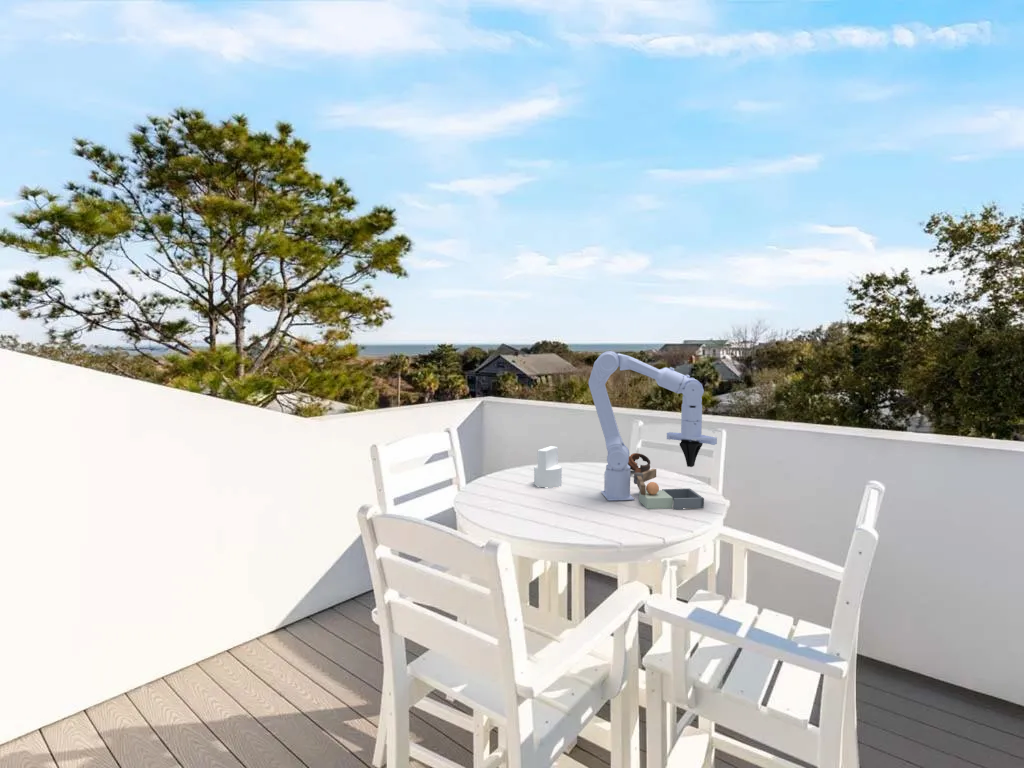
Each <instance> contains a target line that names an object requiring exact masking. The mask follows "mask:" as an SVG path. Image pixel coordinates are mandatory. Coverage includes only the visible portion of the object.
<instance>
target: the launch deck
mask: <svg viewBox="0 0 1024 768" xmlns="http://www.w3.org/2000/svg"><path fill="white" fill-rule="evenodd" d="M638 495H639V496H638V501H639V502H640V503H641V504H642V505H643V506H644V507H645V509H647V510H655V509H657V510H658V508H662V509H673V498H672V497H671V496H670V495H669V494H667V493H666V492H665V491H664V490H662V489H661V490H660V489H659V491H658V493H656V494H654V495H652V494H649V493H648V492H647V490H646V495H641V493H640V490H638Z"/></svg>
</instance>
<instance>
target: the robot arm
mask: <svg viewBox="0 0 1024 768" xmlns="http://www.w3.org/2000/svg"><path fill="white" fill-rule="evenodd" d="M618 368H619V371H626V370H628V371H629V370H631V371H633V372H636V373H638V374H641V375H644V376H645V377H648V378H651V379H653V380H655V381H656V382H655V383H656V384H657V385H658V386H659V387H661V388H664V389H666V390H668V391H671V392H673V393H675V394H682V404H681V414H680V415H681V419H680V420H681V423H680V426H681V427H680V428H681V429H680V432H671V431H669V432H666V440H669V441H670V440H674V441H680V442H679V446H680V449H681V451H682V453H683V455H684V458H685V463H686V467H688V468H692V467H695V465H696V461H697V457H698V454H699V451H700V450H701V448H702V446H703V444H705V445H707V444H708V445H712V446H715V445H717V444H718V437H716V436H710V435H705V434H702V433H703V432H702V431H703V430H702V427H703V426H702V423H703V404H702V401H703V399H702V397H703V396H704V392H705V390H704V387H703V385H702V383H701V382H700V381H699V380H698V379H695V377H691V375H689V374H683V373H680V372H678V371H675V368H674V367H672V366H670V367H667V366H666V367H662V368H660V369H659V368H657V367H655V366H653V365H650V364H648V363H646V362H643V361H641V360H640V359H637V358H635V357H633V356H630V355H628V354H627V355H626V354H623V353H620V352H618V353H617V352H615V351H614V350H607V351H604V352H602V353H600V355H599V356H598V357H597V359H596V360H595V361H594V363H593V366H592V369H591V372H590V376H589V378H588V387H589V390H590V393H591V396H592V401H593V404H594V407H595V410H596V414H597V417H598V420H599V424H600V428H601V431H602V434H603V437H604V441H605V447H606V452H607V455H606V461H607V464H606V466H605V471H604V474H603V475H604V477H603V478H604V479H603V481H604V482H603V483H604V485H603V486H604V487H603V490H601V491H600V493H601V494H602V495H603V497H605V499H606V500H607V501H609V502H610V501H634V500H635V498H634V497H633V496H632V494H631V470H630V466H629V465H628V462H629V456H630V450H629V448H628V446H627V445H625V443H624V441H623V438H622V436H621V434H620V433H621V432H620V431H619V426H618V423H617V420H616V417H615V414H614V410H613V406H612V403H611V401H610V397H609V393H608V390H607V387H606V383H607V382H608V380H609V379H610V377H611V375H613V374H614V373H615V371H617V370H618Z"/></svg>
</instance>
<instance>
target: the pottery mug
mask: <svg viewBox="0 0 1024 768" xmlns="http://www.w3.org/2000/svg"><path fill="white" fill-rule="evenodd" d="M639 459H641V460H642V461H643V462H646V463H647V464H645V465H644V464H640V465H638V463H637V462H636V461H637V460H639ZM628 465H629V466H630V471H634V473H642V472H645V471H648V470H651V460H650V459H649V457H648V456H646V455H644V454H642V453H637V452H634V453H632V454H630V455H629V462H628Z"/></svg>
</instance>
